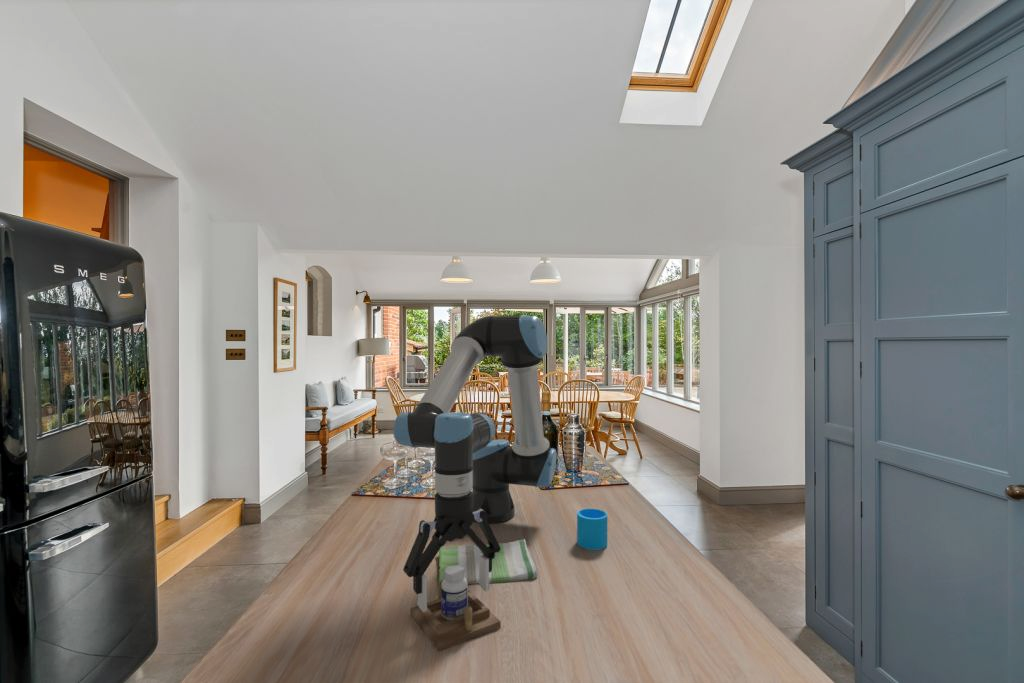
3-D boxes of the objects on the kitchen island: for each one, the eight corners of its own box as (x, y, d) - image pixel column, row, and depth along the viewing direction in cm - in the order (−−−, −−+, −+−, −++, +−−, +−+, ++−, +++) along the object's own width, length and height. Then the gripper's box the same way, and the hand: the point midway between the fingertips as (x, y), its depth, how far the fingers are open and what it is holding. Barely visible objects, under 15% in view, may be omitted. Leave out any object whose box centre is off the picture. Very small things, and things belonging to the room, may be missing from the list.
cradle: (410, 613, 99) (410, 588, 99) (467, 595, 107) (466, 571, 106) (439, 650, 88) (438, 622, 88) (500, 627, 95) (500, 600, 95)
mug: (611, 548, 130) (611, 518, 130) (582, 551, 129) (582, 520, 129) (596, 531, 142) (596, 503, 142) (569, 533, 140) (569, 504, 140)
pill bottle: (442, 607, 100) (442, 564, 100) (467, 606, 100) (467, 563, 100) (440, 622, 94) (440, 576, 94) (467, 621, 95) (467, 575, 95)
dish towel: (538, 581, 113) (538, 566, 113) (438, 589, 110) (438, 573, 110) (525, 550, 130) (525, 536, 130) (438, 555, 127) (438, 542, 127)
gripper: (400, 509, 87) (400, 627, 87) (516, 485, 101) (516, 588, 101) (386, 497, 93) (386, 608, 93) (497, 477, 107) (498, 573, 107)
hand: (454, 598), depth 97 cm, fingers open, 13 cm apart
